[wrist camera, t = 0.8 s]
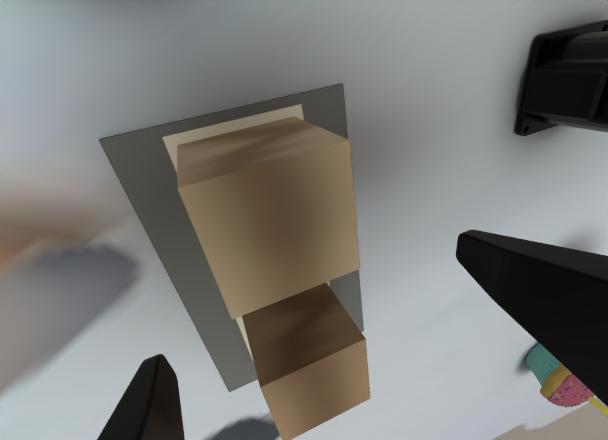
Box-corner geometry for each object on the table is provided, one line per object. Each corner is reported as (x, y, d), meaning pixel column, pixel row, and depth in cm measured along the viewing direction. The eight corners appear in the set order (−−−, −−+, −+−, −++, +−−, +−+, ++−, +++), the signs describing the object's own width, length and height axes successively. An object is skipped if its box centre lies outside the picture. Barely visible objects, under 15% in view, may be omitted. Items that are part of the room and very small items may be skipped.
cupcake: (558, 347, 46) (662, 424, 36) (516, 380, 46) (610, 467, 36) (559, 320, 42) (679, 400, 32) (511, 357, 41) (618, 449, 31)
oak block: (294, 116, 16) (349, 139, 11) (310, 214, 19) (360, 268, 14) (177, 145, 14) (177, 188, 9) (216, 246, 17) (232, 319, 12)
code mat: (341, 83, 16) (343, 83, 16) (362, 329, 26) (364, 331, 26) (99, 139, 13) (98, 140, 13) (229, 389, 23) (229, 392, 23)
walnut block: (321, 274, 21) (365, 338, 16) (330, 329, 24) (370, 398, 19) (239, 306, 20) (260, 387, 15) (260, 360, 23) (283, 443, 18)
